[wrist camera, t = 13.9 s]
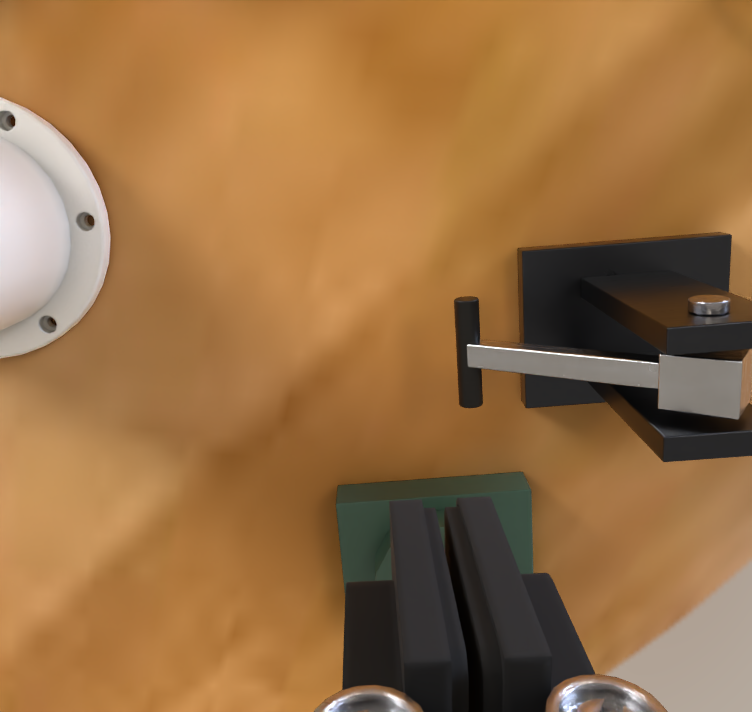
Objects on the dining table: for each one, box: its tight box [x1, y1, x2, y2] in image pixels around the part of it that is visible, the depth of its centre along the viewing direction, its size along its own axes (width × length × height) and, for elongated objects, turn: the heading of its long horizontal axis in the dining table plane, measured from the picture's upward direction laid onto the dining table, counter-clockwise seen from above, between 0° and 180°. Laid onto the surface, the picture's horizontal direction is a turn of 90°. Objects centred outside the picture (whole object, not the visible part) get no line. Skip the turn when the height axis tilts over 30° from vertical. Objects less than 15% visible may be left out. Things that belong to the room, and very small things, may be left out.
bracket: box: [517, 232, 752, 462], centre depth 31 cm, size 10×8×12 cm
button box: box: [336, 472, 533, 590], centre depth 38 cm, size 10×8×4 cm
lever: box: [454, 296, 752, 420], centre depth 30 cm, size 12×5×2 cm
